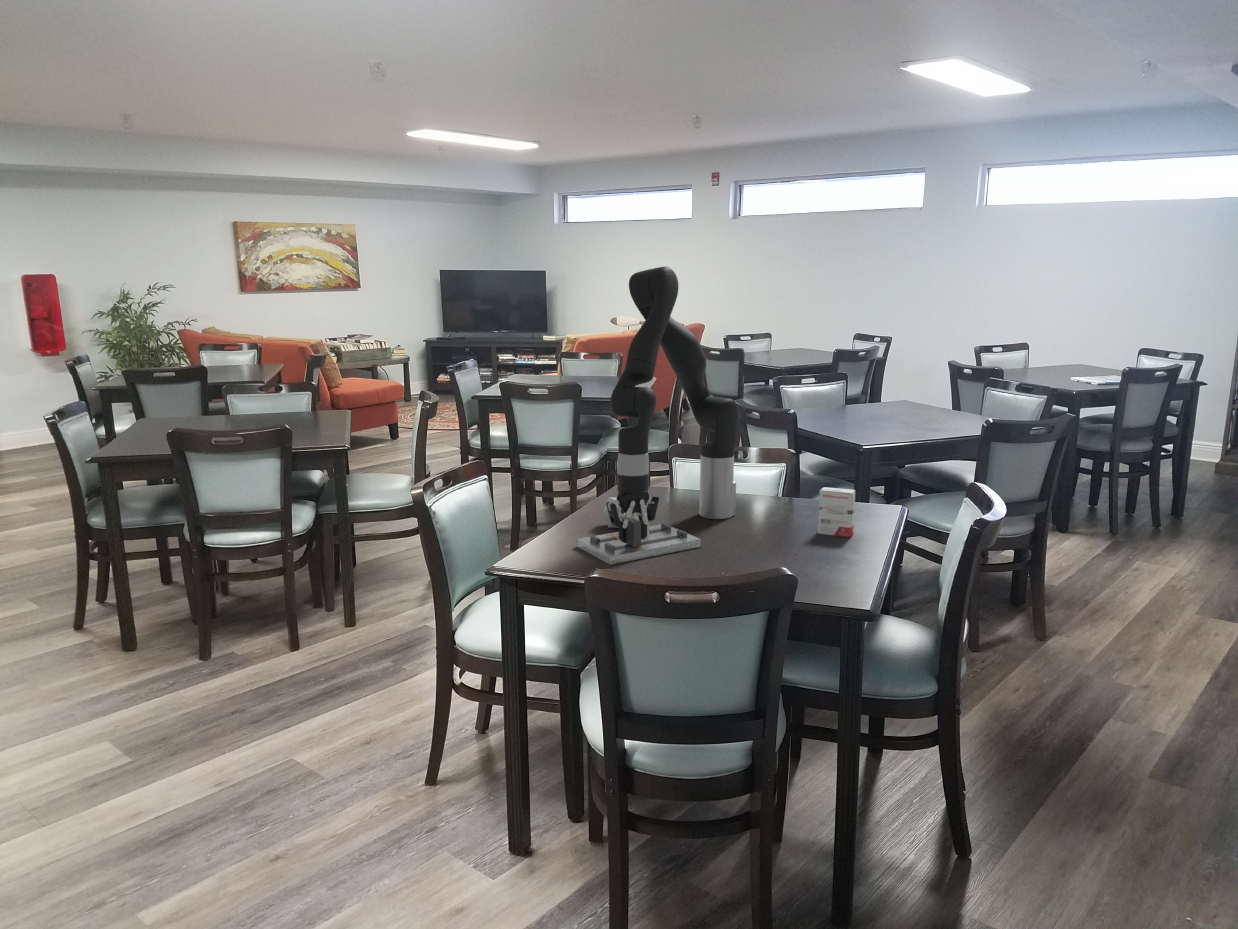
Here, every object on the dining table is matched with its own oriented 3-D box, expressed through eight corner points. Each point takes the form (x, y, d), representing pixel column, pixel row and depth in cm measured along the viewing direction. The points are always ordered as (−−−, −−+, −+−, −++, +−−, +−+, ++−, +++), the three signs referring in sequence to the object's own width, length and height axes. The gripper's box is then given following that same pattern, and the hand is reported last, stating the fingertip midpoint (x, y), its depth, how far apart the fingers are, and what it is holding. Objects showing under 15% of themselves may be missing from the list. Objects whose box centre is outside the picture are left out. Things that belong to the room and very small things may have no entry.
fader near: (632, 541, 205) (632, 517, 203) (640, 546, 201) (641, 521, 200) (625, 543, 204) (625, 519, 202) (633, 547, 200) (634, 523, 199)
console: (664, 530, 221) (664, 519, 221) (700, 546, 208) (701, 534, 207) (577, 546, 208) (577, 534, 207) (610, 564, 195) (610, 551, 194)
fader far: (640, 530, 214) (640, 507, 213) (649, 534, 211) (649, 511, 210) (633, 531, 213) (633, 508, 212) (642, 535, 210) (642, 512, 208)
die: (622, 535, 220) (642, 504, 221) (594, 518, 220) (614, 487, 222) (622, 537, 228) (640, 507, 229) (595, 520, 228) (613, 490, 230)
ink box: (854, 533, 220) (856, 489, 217) (850, 538, 215) (853, 493, 213) (820, 529, 223) (823, 485, 221) (816, 533, 219) (819, 489, 216)
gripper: (649, 464, 205) (649, 532, 209) (599, 471, 198) (599, 541, 202) (667, 470, 199) (666, 539, 203) (615, 477, 192) (615, 549, 196)
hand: (632, 540), depth 202 cm, fingers open, 4 cm apart
